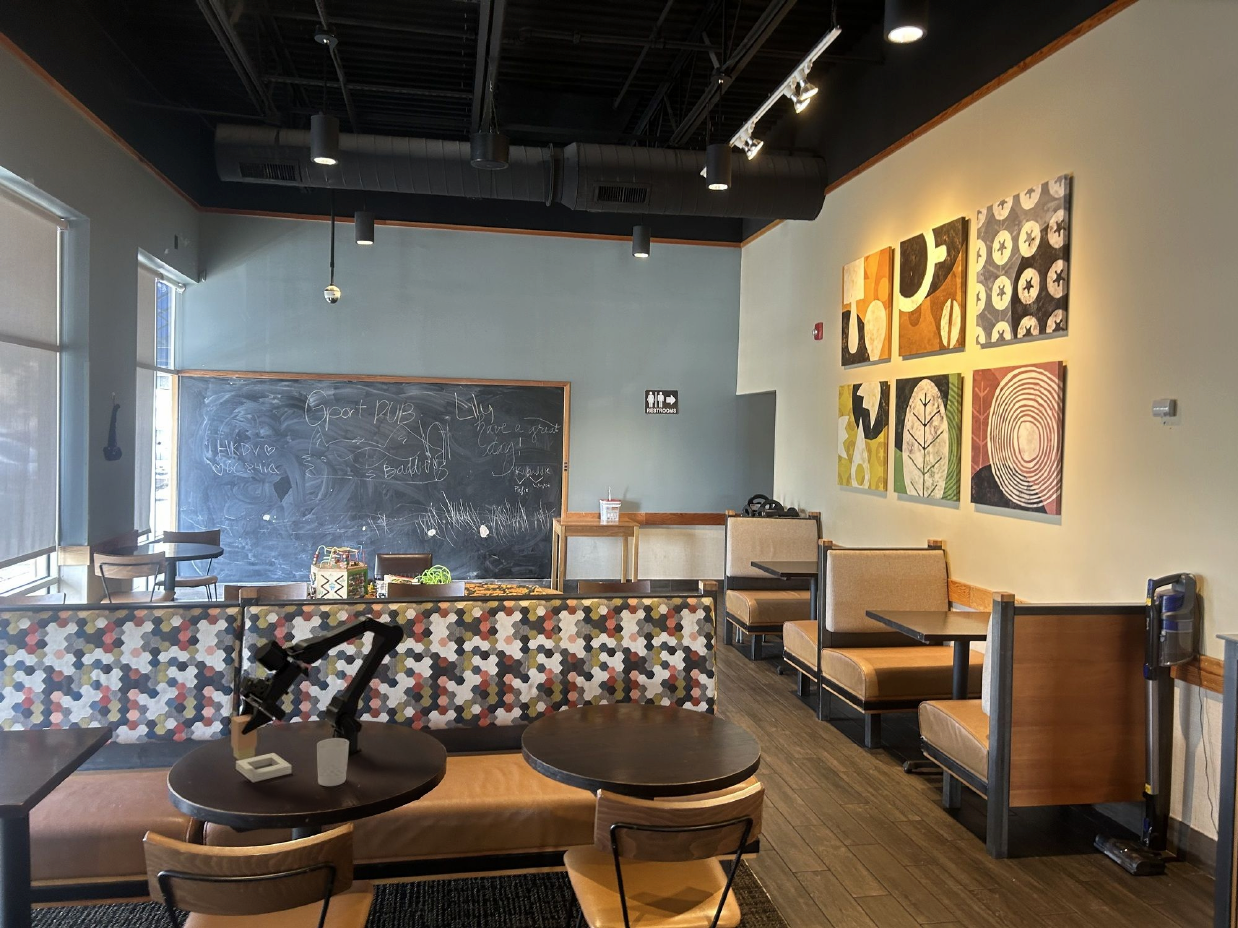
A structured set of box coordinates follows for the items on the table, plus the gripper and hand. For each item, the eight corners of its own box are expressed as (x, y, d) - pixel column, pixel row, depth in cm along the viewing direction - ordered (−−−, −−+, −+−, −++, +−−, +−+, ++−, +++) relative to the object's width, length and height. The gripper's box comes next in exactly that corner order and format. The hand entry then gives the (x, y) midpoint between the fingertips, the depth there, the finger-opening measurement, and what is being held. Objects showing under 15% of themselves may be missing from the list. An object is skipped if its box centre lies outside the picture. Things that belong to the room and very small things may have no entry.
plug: (250, 750, 225) (250, 713, 225) (256, 756, 221) (257, 718, 221) (231, 755, 222) (231, 717, 221) (238, 760, 218) (238, 722, 218)
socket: (273, 759, 233) (273, 752, 233) (291, 772, 224) (291, 765, 224) (235, 768, 226) (236, 761, 226) (252, 782, 217) (252, 774, 217)
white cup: (320, 775, 223) (321, 737, 223) (351, 775, 224) (352, 737, 224) (312, 787, 215) (313, 748, 215) (343, 787, 216) (344, 748, 216)
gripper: (246, 656, 230) (203, 705, 223) (273, 671, 217) (228, 723, 210) (275, 680, 236) (234, 728, 229) (303, 695, 222) (260, 747, 215)
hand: (238, 731), depth 220 cm, fingers closed on plug, 5 cm apart
